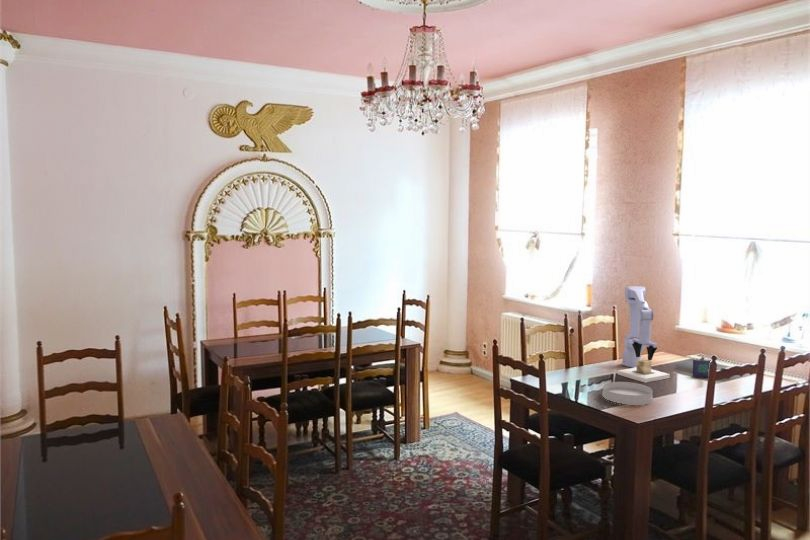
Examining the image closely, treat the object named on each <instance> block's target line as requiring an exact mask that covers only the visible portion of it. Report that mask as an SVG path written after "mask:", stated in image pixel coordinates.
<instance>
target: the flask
mask: <svg viewBox="0 0 810 540" xmlns="http://www.w3.org/2000/svg"><path fill="white" fill-rule="evenodd" d="M705 357H706V356H705ZM705 357H704V356H701V357H700V358H693V359H692V377H693V378H709V377H708V369H709V363H710V361H711V360H712V359H706V358H705Z"/></svg>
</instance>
